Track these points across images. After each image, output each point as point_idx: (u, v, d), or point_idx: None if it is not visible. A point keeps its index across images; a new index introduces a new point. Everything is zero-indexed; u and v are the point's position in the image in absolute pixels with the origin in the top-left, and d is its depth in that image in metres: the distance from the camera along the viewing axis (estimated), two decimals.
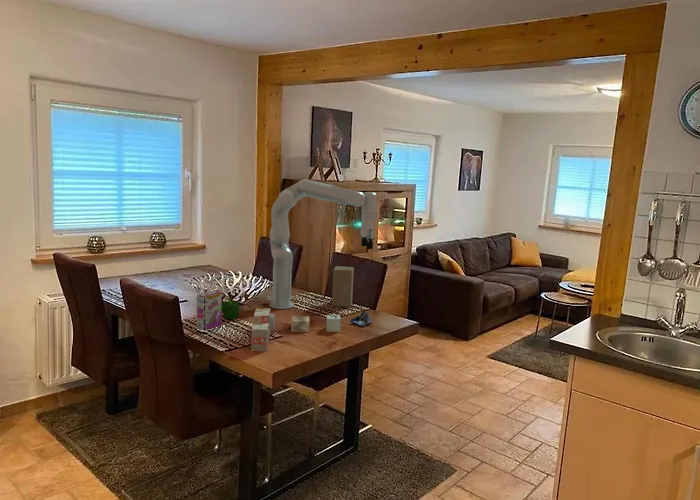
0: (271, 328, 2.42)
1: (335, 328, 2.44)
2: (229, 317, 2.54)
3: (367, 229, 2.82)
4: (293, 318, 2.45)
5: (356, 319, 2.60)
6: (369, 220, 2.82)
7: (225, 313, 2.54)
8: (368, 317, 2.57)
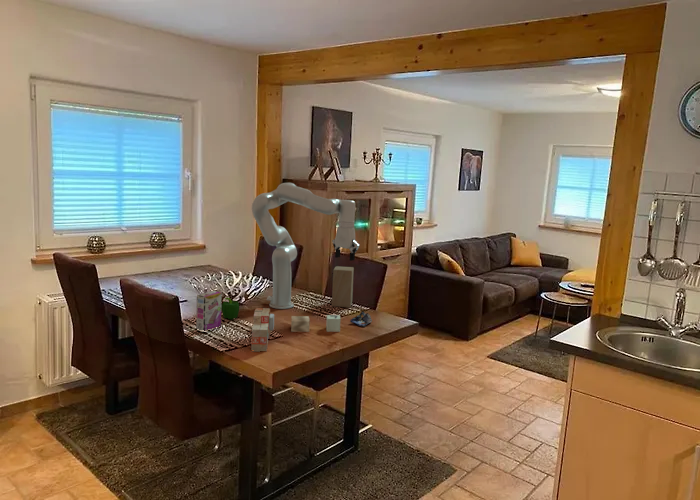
0: (271, 328, 2.42)
1: (335, 328, 2.44)
2: (229, 317, 2.54)
3: (351, 240, 2.65)
4: (293, 318, 2.45)
5: (355, 319, 2.59)
6: (352, 230, 2.65)
7: (225, 313, 2.54)
8: (368, 317, 2.57)
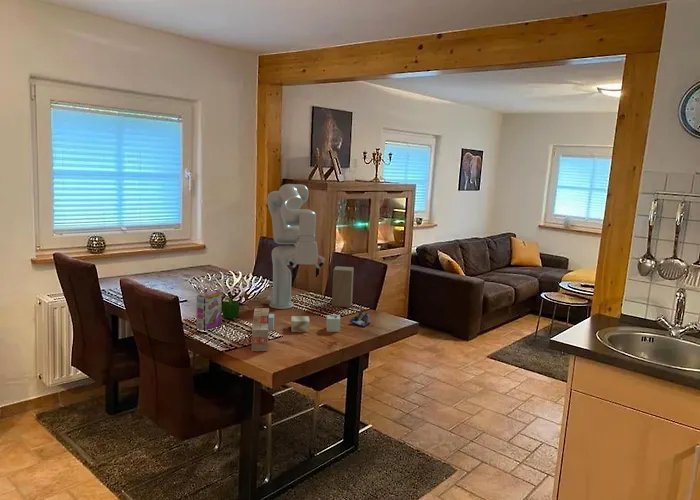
0: (271, 328, 2.42)
1: (335, 328, 2.44)
2: (229, 317, 2.54)
3: (317, 254, 2.41)
4: (293, 318, 2.45)
5: (355, 319, 2.59)
6: (316, 243, 2.41)
7: (225, 313, 2.54)
8: (367, 317, 2.57)
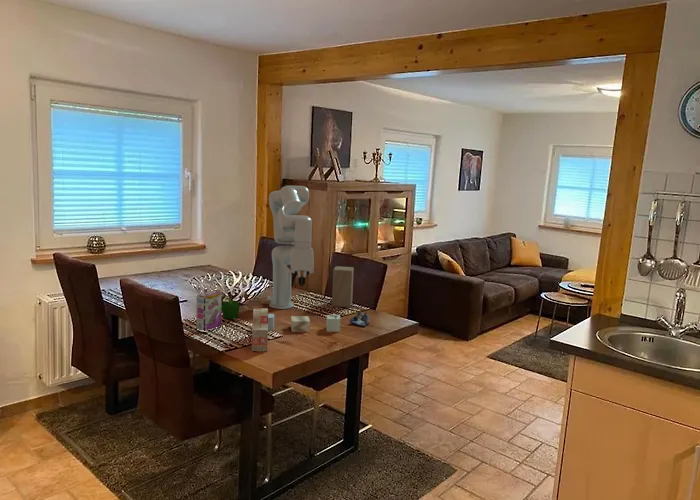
0: (271, 328, 2.42)
1: (335, 328, 2.44)
2: (229, 317, 2.54)
3: (313, 261, 2.39)
4: (293, 318, 2.45)
5: (354, 319, 2.59)
6: (312, 249, 2.39)
7: (225, 313, 2.54)
8: (367, 316, 2.57)
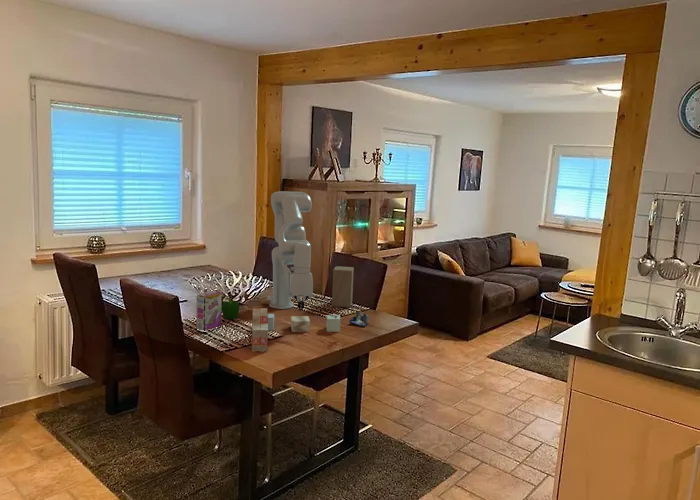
0: (271, 328, 2.42)
1: (335, 328, 2.44)
2: (229, 317, 2.54)
3: (312, 285, 2.41)
4: (293, 318, 2.45)
5: (353, 319, 2.59)
6: None
7: (225, 313, 2.54)
8: (366, 317, 2.57)
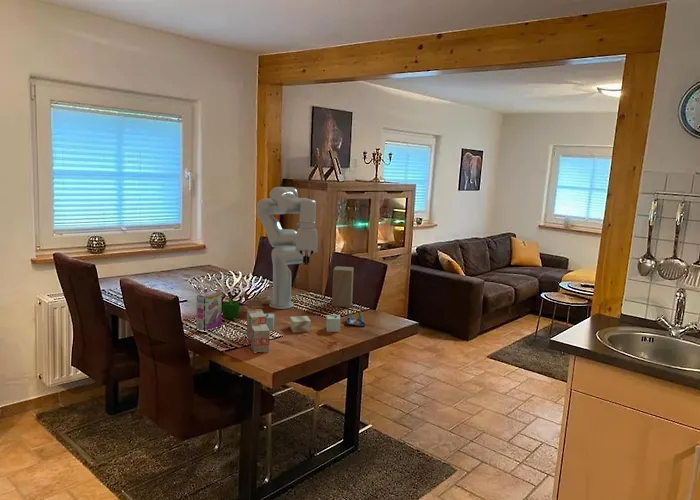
0: (271, 328, 2.42)
1: (335, 328, 2.44)
2: (229, 317, 2.54)
3: (317, 241, 2.53)
4: (293, 318, 2.44)
5: (348, 321, 2.56)
6: (316, 230, 2.53)
7: (225, 313, 2.54)
8: (361, 316, 2.58)
